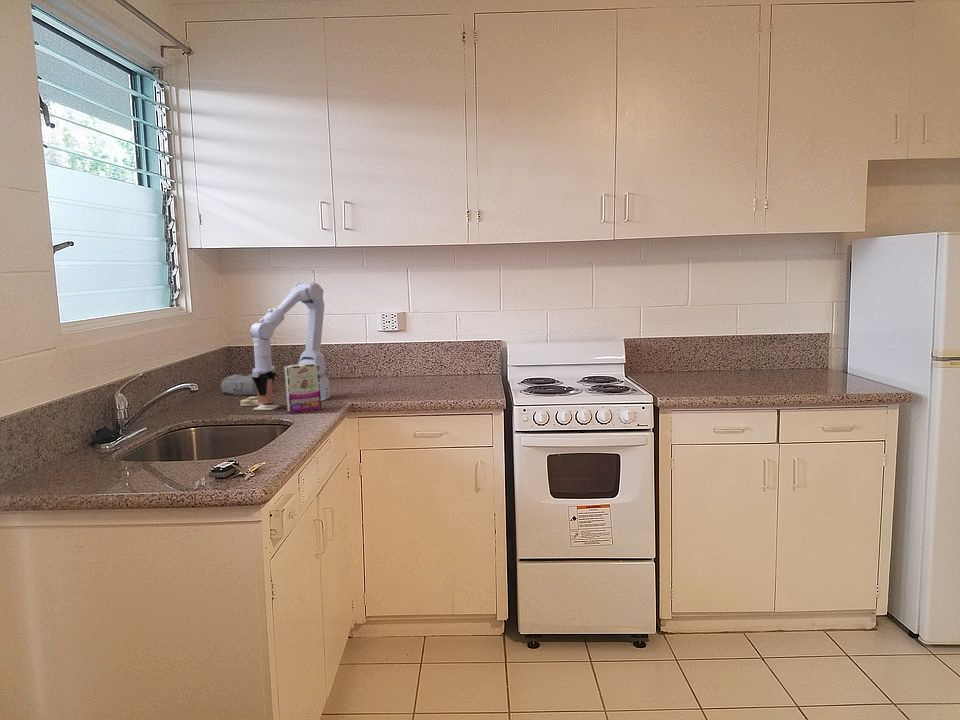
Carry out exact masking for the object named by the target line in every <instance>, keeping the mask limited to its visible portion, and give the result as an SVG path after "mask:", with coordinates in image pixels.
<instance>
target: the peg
mask: <svg viewBox="0 0 960 720" xmlns="http://www.w3.org/2000/svg"><path fill="white" fill-rule="evenodd" d="M256 397H258V403H269V402H272V403H273V401H274V389H273V385H272V379H268V381H267V386H266V395H265V396H260V395H259V393H258V389H257V395H256Z"/></svg>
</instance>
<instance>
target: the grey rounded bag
mask: <svg viewBox="0 0 960 720" xmlns="http://www.w3.org/2000/svg"><path fill="white" fill-rule="evenodd" d="M219 387H220V391H221V393H222V394H227V395H229V394H233V395H232V396H243V395H246V396H257V386H256V384H255V382H254V381H253V379H252V372H247V373H246V372H243V373H235V374H233V375H229V376H226V377H225V378H223V379H222V380H221V382H220V385H219Z"/></svg>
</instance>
